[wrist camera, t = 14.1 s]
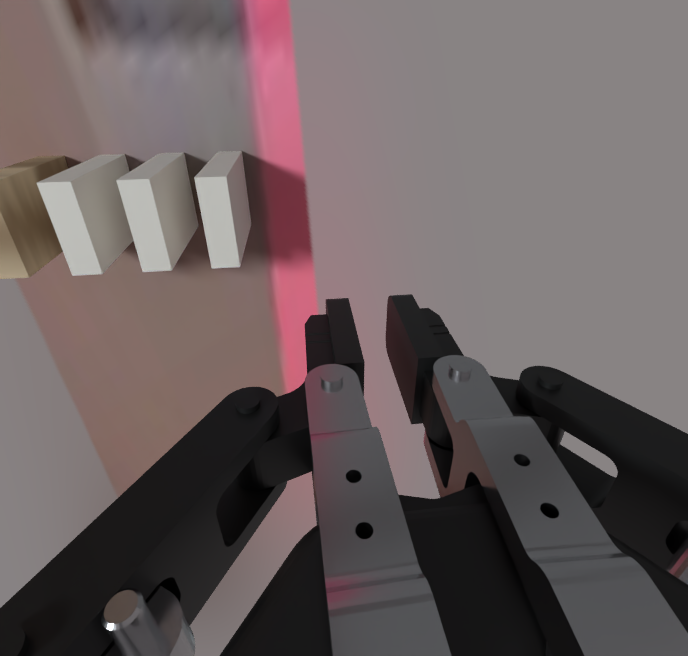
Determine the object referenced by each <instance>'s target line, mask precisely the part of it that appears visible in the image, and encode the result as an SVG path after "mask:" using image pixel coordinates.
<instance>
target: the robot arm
mask: <svg viewBox="0 0 688 656" xmlns="http://www.w3.org/2000/svg"><path fill="white" fill-rule="evenodd" d="M305 338H306V357H307V376H306V378H305V382H304V383H303V384H302V385H301V386H300V387H299V388H297V389H296V390H294V391H292V392H290V393H288V394H285V395H282V396H278V397H276V395H275V394H274V393H273V392H271V391H270V390H268V389H265V388H262V387H247V388H242V389H239V390H237V391H234V392H232V393H231V394H229V395H228V396H227V397H225V398H224V399H223V400H222V401H221V402H220V403H219V404H218V405H217V406H216V407H215V408H214V409H213V410H212V411H211V412H209V413H208V414H207V415H206V416H205V417H204V418H203V419H202V420H201V421H200V422H199V423H198V424H197V425H196V426H194V427H193V428H192V429H191V430H190V431H189V432H188V433H187V434H186V435H185V436H184V437H183V438H182V439H181V440H180V441H178V442H177V443H176V444H175V445H174V446H173V447H172V448H171V449H170V450H169V451H168V452H167V453H166V454H165V455H164V456H162V457H161V458H160V459H159V460H158V461H157V462H156V463H155V464H154V465H153V466H152V467H151V468H150V469H149V470H147V471H146V472H145V473H144V474H143V475H142V476H141V477H140V478H139V479H138V480H137V481H136V482H135V483H134V484H133V485H131V486H130V487H129V488H128V489H127V490H126V491H125V492H124V493H123V494H122V495H121V496H120V497H119V498H118V499H116V500H115V501H114V502H113V503H112V504H111V505H110V506H109V507H108V508H107V509H106V510H105V511H104V512H103V513H102V514H100V515H99V516H98V517H97V519H95V520H94V521H93V522H92V523H91V524H90V525H89V526H88V527H87V528H86V529H84V531H82V532H81V533H80V534H79V535H78V536H77V537H76V538H75V539H74V540H73V541H72V542H71V543H70V544H68V545H67V546H66V547H65V548H64V549H63V550H62V551H61V552H60V553H59V554H58V555H57V556H56V557H55V558H53V559H52V560H51V561H50V562H49V563H48V564H47V565H46V566H45V567H44V568H43V569H42V570H41V571H40V572H39V573H37V574H36V576H34V577H33V578H32V579H31V580H30V581H29V582H28V583H27V584H26V585H25V586H24V587H23V588H21V589H20V590H19V591H18V592H17V593H16V594H15V595H14V596H13V597H12V598H11V599H10V600H9V601H8V602H6V603H5V604H4V605H3V606H2V607H1V608H0V656H194V654H195V640H194V635H193V632H192V630H191V628H190V624H191V623H192V622H193V620H194V619H195V617H196V616H197V614H198V613H199V611H200V610H201V609H202V607H203V606H204V604H205V603H206V601H207V600H208V599H209V597H210V596H211V594H212V593H213V591H214V590H215V588H216V587H217V586H218V584H219V583H220V581H221V580H222V578H223V577H224V575H225V574H226V573H227V571H228V570H229V568H230V567H231V565H232V564H233V562H234V561H235V560H236V558H237V557H238V555H239V554H240V553H241V551H242V550H243V548H244V547H245V545H246V544H247V542H248V541H249V540H250V538H251V537H252V535H253V534H254V532H255V531H256V529H257V528H258V526H259V525H260V524H261V522H262V521H263V519H264V518H265V517H266V515H267V514H268V512H269V511H270V509H271V508H272V506H273V505H274V504H275V502H276V501H277V499H278V498H279V496H280V495H281V493H282V492H283V491H284V489H285V487H286V484H287V481H288V480H291V479H293V478H296V477H299V476H301V475H303V474H306V473H309V472H311V471H312V478H313V489H314V498H315V510H316V521H317V526H315V527H314V528H313V529H311V530H310V531H309V532H308V533H307V534H306V535H305V536H304V537H303V538H302V539H301V540H300V541H299V542H298V543H297V544H296V546H295V547H294V548H293V550H292V551H291V552H290V554H289V555H288V557H287V558H286V560H285V561H284V563H283V564H282V566H281V567H280V568H279V570H278V571H277V573H276V574H275V576H274V577H273V579H272V580H271V582H270V583H269V585H268V586H267V587H266V589H265V590H264V592H263V593H262V595H261V596H260V598H259V599H258V601H257V602H256V604H255V605H254V607H253V608H252V609H251V611H250V612H249V614H248V615H247V617H246V618H245V619H244V621H243V622H242V624H241V626H240V627H239V628H238V630H237V631H236V633H235V634H234V635H233V637H232V638H231V640H230V641H229V643H228V644H227V646H226V647H225V649H224V650H223V652H222V653H221V655H220V656H688V434H687V433H685V432H683V431H681V430H679V429H677V428H675V427H673V426H671V425H669V424H667V423H665V422H663V421H661V420H659V419H657V418H655V417H653V416H650V415H649V414H647V413H645V412H642V411H640V410H639V409H636V408H635V407H632V406H631V405H629V404H627V403H625V402H623V401H620V400H618V399H617V398H614V397H612V396H610V395H608V394H606V393H604V392H602V391H600V390H598V389H596V388H594V387H592V386H590V385H588V384H586V383H584V382H582V381H580V380H578V379H576V378H574V377H572V376H570V375H568V374H566V373H564V372H562V371H560V370H557V369H554V368H551V367H545V366H533V367H529V368H527V369H525V370H524V371H522V373H521V375H520V379H519V380H513V379H505V378H498V377H493V376H489V374H488V372H487V371H486V369H485V368H484V366H483V365H482V364H480V363H479V362H478V361H476V360H474V359H472V358H469V357H465V356H464V355H463V354H462V352H461V350H460V349H459V347H458V346H457V344H456V343H455V341H454V339H453V337H452V336H451V334H449V331H448V329H447V327H445V324H444V322H443V321H442V319H441V317H440V316H439V315H438V314H436V313H435V312H433V311H432V310H430V309H429V308H422V309H420V308H419V306H418V305H417V303H416V301H415V299H414V297H413V295H394V296H389V297H388V304H387V322H386V348H387V353H388V357H389V360H390V362H391V365H392V369H393V371H394V375H395V377H396V380H397V383H398V386H399V389H400V392H401V395H402V398H403V401H404V404H405V407H406V410H407V413H408V416H409V419H410V421H411V424H419V423H423V424H424V427H425V434H424V446H425V449H426V452H427V455H428V459H429V462H430V465H431V468H432V472H433V475H434V478H435V482H436V485H437V488H438V491H439V495H440V498H438V499H426V498H419V497H411V496H404V495H398V493H397V489H396V486H395V482H394V479H393V475H392V472H391V469H390V465H389V462H388V458H387V455H386V452H385V448H384V445H383V441H382V438H381V435H380V432H379V429H378V428H377V427H372V426H371V422H370V418H369V414H368V411H367V408H366V404H365V400H364V359H363V355H362V351H361V347H360V343H359V339H358V335H357V331H356V327H355V323H354V319H353V315H352V311H351V307H350V303H349V299H348V298H342V299H326V314H325V315H311V316H310V317H309V319H308V320H307V322H306V323H305ZM565 431H566V432H568V433H570V434H571V435H573V436H574V437H576V438H578V439H579V440H581V441H583V442H584V443H586V444H588V445H590V446H591V447H593V448H595V449H596V450H598V451H600V452H601V453H603V454H605V455H606V456H608V457H609V458H610V459H611V460H612V461H613V462H614V463H615V465H616V467H617V470H618V475H617V477H616V478H615V477H612V476H610V475H608V474H607V473H605V472H603V471H602V470H600V469H599V468H597V467H595V466H594V465H592V464H591V463H589V462H587V461H586V460H584V459H583V458H581V457H579V456H578V455H576V454H575V453H573V452H571V451H570V450H568V449H567V448H565V447H563V446H562V445H560V442H561V440H562V437H563V435H564V432H565Z"/></svg>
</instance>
